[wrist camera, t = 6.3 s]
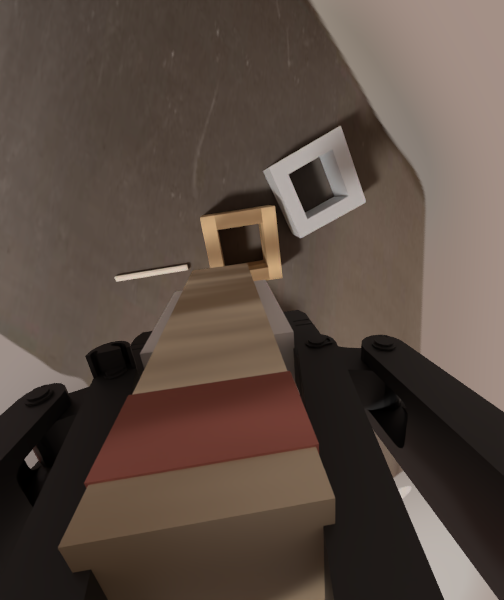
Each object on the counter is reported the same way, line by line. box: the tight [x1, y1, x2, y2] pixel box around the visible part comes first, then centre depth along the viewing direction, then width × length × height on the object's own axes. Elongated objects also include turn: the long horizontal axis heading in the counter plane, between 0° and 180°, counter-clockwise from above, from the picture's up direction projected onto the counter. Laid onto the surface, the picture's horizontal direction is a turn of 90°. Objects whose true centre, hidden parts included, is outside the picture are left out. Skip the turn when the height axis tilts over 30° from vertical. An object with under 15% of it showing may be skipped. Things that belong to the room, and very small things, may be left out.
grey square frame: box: [263, 126, 366, 238], centre depth 33 cm, size 9×9×4 cm
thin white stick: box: [115, 264, 188, 282], centre depth 37 cm, size 1×10×1 cm, turn 98°
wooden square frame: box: [200, 205, 282, 281], centre depth 35 cm, size 9×9×4 cm
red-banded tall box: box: [58, 263, 335, 600], centre depth 11 cm, size 4×4×15 cm
